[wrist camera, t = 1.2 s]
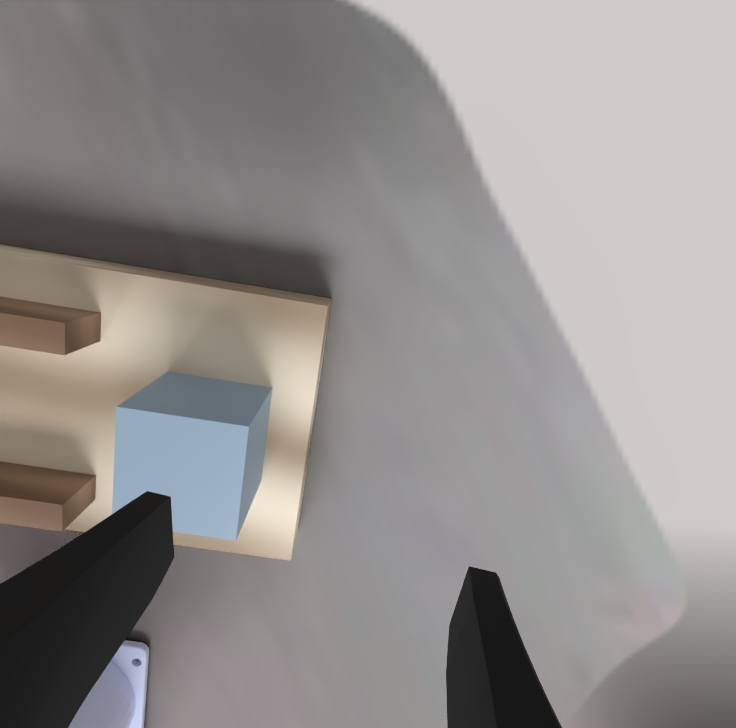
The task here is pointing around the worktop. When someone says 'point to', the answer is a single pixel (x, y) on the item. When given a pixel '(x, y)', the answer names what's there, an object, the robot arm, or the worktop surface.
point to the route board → (143, 382)
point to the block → (193, 450)
